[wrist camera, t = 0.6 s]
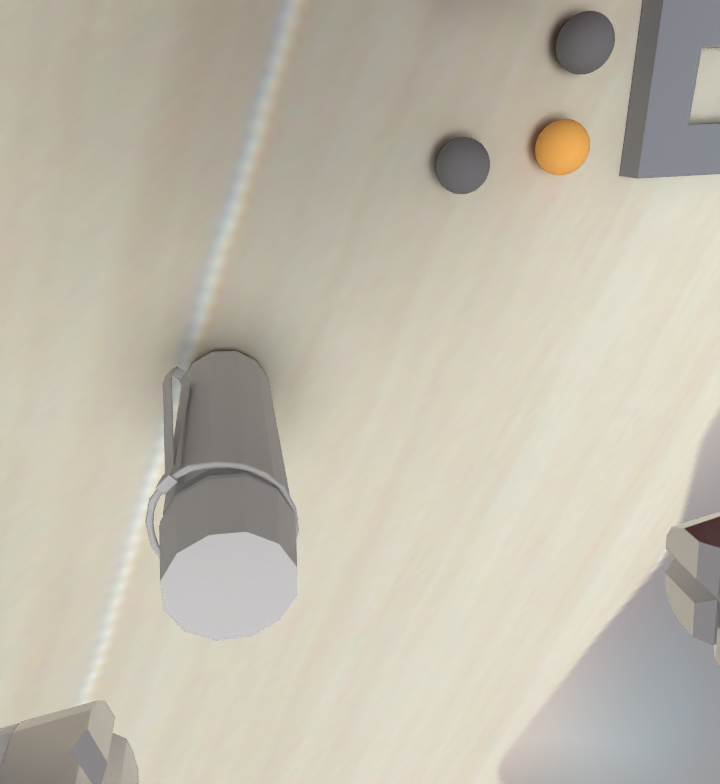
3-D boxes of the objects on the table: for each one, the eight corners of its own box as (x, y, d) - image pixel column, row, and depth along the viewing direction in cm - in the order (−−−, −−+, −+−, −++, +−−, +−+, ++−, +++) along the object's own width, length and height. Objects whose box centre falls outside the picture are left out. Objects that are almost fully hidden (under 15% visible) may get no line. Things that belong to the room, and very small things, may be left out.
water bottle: (290, 382, 53) (342, 575, 30) (226, 443, 54) (231, 674, 32) (207, 309, 49) (197, 469, 27) (140, 377, 50) (76, 586, 28)
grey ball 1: (429, 137, 47) (446, 139, 44) (479, 135, 48) (500, 137, 44) (428, 192, 49) (445, 198, 45) (476, 189, 50) (496, 195, 46)
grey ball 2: (548, 15, 46) (576, 6, 42) (598, 15, 46) (630, 6, 43) (543, 76, 47) (570, 73, 44) (592, 75, 48) (621, 72, 44)
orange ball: (528, 120, 48) (553, 120, 45) (575, 118, 49) (603, 118, 45) (524, 174, 50) (547, 178, 46) (570, 171, 51) (596, 175, 47)
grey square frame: (644, -9, 46) (665, -15, 44) (793, -8, 49) (821, -14, 46) (619, 175, 52) (637, 178, 49) (755, 168, 54) (778, 170, 52)
